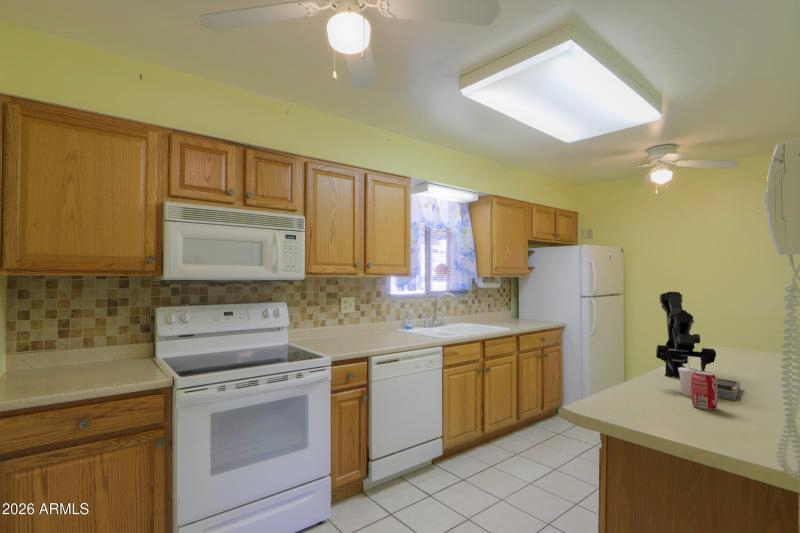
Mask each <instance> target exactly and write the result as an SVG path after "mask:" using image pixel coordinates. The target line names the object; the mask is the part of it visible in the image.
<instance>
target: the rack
mask: <svg viewBox="0 0 800 533" xmlns="http://www.w3.org/2000/svg"><path fill="white" fill-rule="evenodd" d="M716 379H717V399H724V400H728V401H735V402H736V399H737V397H738V395H739V392H740V390H741V382H740V381H737V380H730V379H723V378H717V377H716Z"/></svg>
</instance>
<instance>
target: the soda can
mask: <svg viewBox="0 0 800 533" xmlns="http://www.w3.org/2000/svg"><path fill="white" fill-rule="evenodd" d="M716 378H717V377H716V376H715V373H714V372H712V371H707V370H705V371H701V370H699V369H697V370H696V371H694V373H693V375H692V377H691V396H690V397H691V405H693V406H694V407H695V408H696V409H700V410H704V411H713V410H715V409H717V408H718V398H717V379H716Z"/></svg>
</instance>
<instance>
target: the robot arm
mask: <svg viewBox="0 0 800 533" xmlns="http://www.w3.org/2000/svg"><path fill="white" fill-rule="evenodd" d="M659 303H660V305H661V308H662V309H663V311H664V312H665V314H666V329H667V337H668V338H667V339H668V340H667V341H666V343H665V344H657V346H656V349H655V357H656V358H657V359H660V361H663V362H664V363H665V374H664V376H666V377H672V378H679V379H680V375H679V371H678V368H679V367H686V366H685V365H688V358H700V371H706V367H707V365H710V364H713V363H714V362H715V360H716V356H717V351H716V350H715V349H714V348H709V347H708V348H707V347H705V348H704V347H702V348H701V351H698V350H697V351H695V344H700V342H701V336H700V334H698V333H694V334H691V333H690V331H691V330H692V327H693V323H695V321H694V316H693V315H692V314H690V313H689V312H687V310H685V309H683V305H682V304H683V294H682V293H680V292H678V291H666V292H665V293H661V294H659Z"/></svg>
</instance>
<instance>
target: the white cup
mask: <svg viewBox="0 0 800 533" xmlns="http://www.w3.org/2000/svg"><path fill="white" fill-rule="evenodd" d="M696 370H698V369H697V368H693V367H690V357H688V363H687V367H686V366H685V367H679V368H678V371H679V375H680V378H679V380H680V386H681V387H680V388H681V393H682V395H683V396H687V397H691V377H692V375H693V373H694V371H696Z"/></svg>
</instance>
